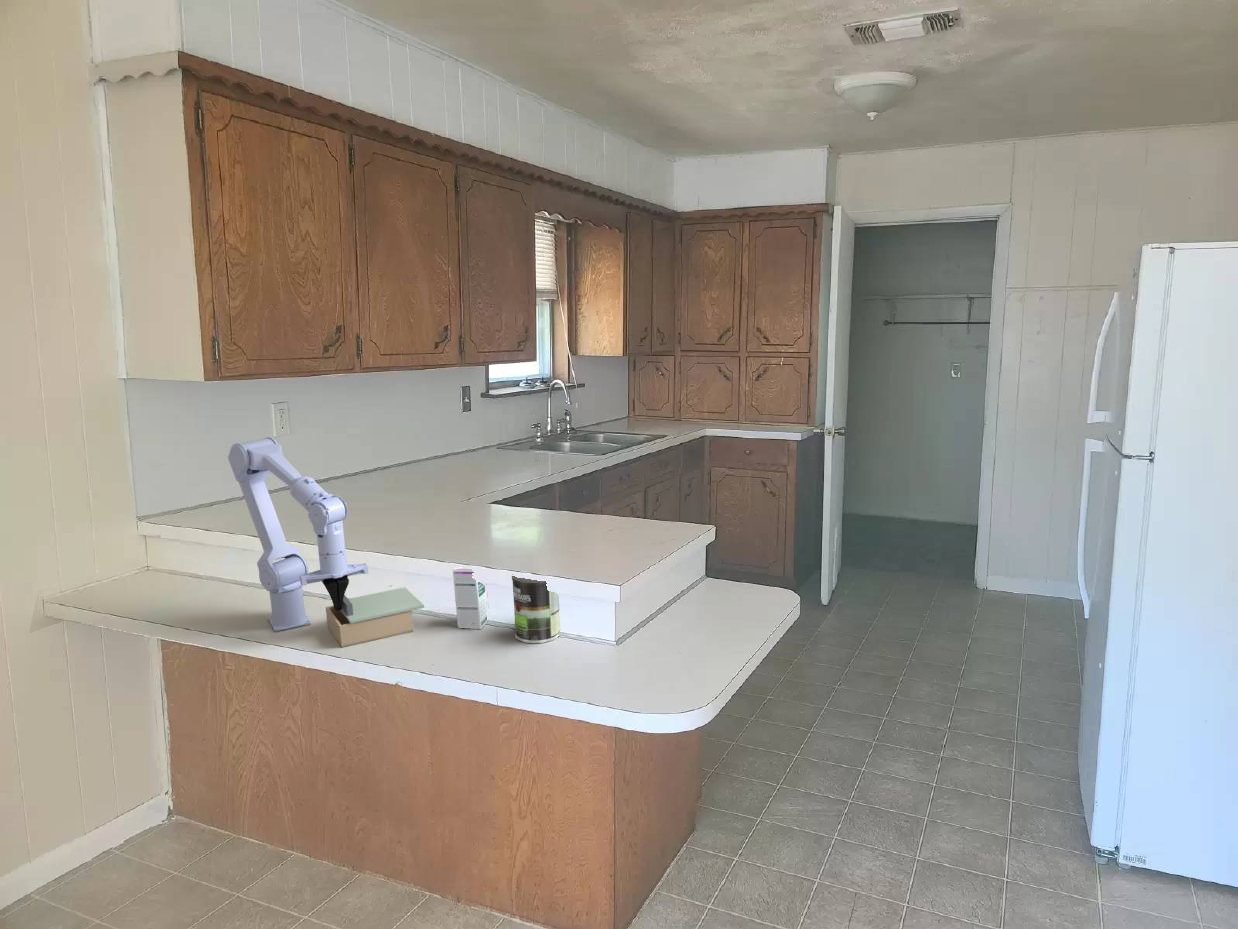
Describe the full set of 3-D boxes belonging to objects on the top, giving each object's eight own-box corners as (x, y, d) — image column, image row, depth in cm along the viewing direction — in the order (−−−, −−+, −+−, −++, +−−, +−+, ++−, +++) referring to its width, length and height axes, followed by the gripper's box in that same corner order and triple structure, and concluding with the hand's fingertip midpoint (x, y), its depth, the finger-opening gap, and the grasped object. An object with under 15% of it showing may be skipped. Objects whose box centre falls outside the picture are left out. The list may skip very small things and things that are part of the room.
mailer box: (327, 627, 204) (325, 607, 203) (395, 612, 211) (393, 593, 210) (341, 647, 192) (339, 626, 191) (413, 631, 200) (411, 610, 199)
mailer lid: (335, 603, 204) (333, 591, 203) (405, 589, 212) (404, 577, 211) (350, 623, 192) (349, 610, 191) (424, 607, 200) (423, 594, 199)
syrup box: (481, 630, 199) (477, 569, 196) (456, 628, 200) (452, 568, 197) (489, 620, 205) (485, 561, 202) (465, 619, 206) (461, 560, 203)
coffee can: (532, 647, 188) (528, 585, 186) (506, 634, 196) (502, 574, 193) (570, 634, 195) (567, 574, 192) (544, 622, 203) (540, 564, 200)
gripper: (301, 561, 187) (308, 621, 190) (369, 549, 194) (374, 607, 197) (295, 553, 193) (301, 611, 196) (361, 542, 200) (366, 598, 203)
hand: (338, 609), depth 197 cm, fingers closed
